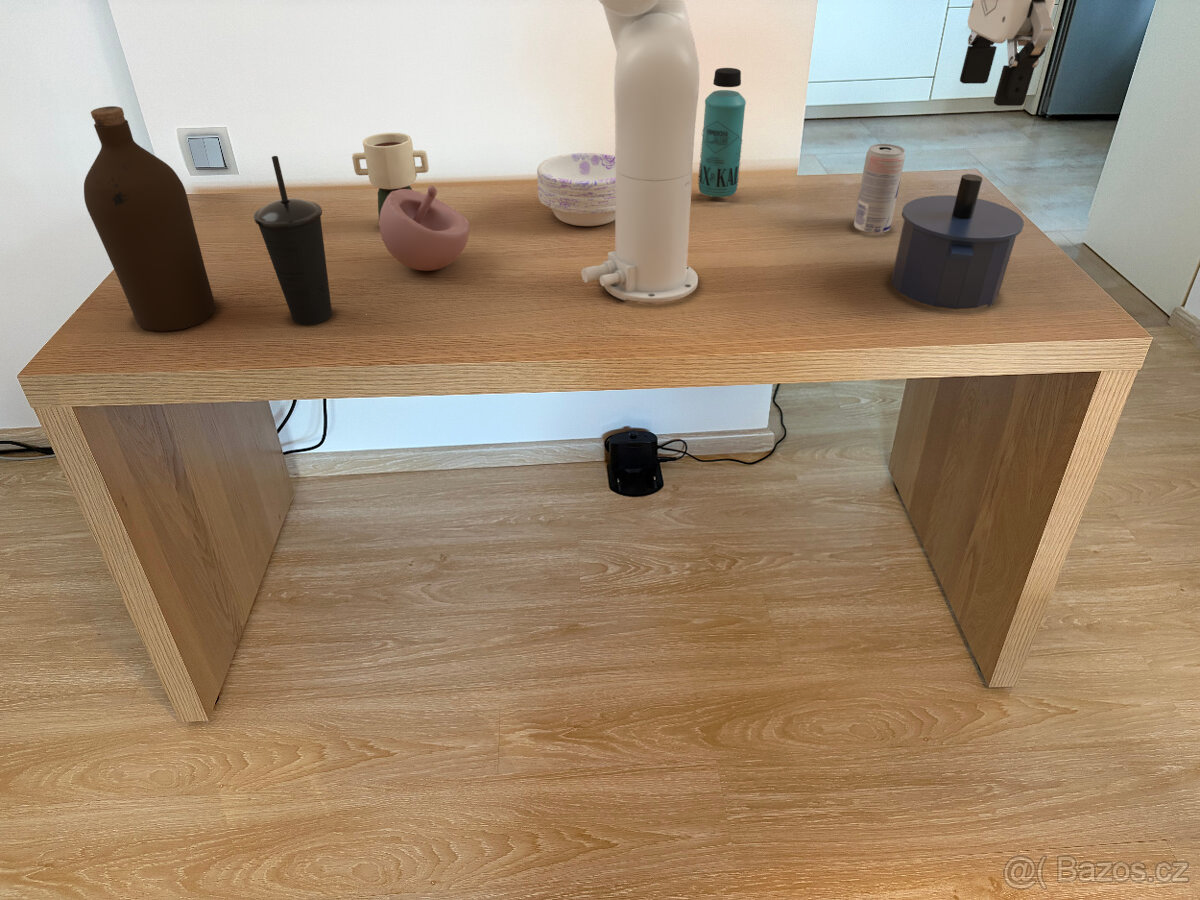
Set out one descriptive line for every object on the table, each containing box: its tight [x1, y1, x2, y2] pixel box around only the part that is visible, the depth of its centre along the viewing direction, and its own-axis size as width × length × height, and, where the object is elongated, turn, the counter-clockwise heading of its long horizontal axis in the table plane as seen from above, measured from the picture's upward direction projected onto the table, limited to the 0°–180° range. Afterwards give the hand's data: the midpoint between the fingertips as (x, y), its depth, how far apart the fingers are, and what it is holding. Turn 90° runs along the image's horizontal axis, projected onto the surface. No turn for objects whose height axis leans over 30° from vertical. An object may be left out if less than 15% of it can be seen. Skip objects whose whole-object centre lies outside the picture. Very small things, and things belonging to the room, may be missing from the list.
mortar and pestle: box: [378, 185, 470, 272], centre depth 115 cm, size 12×12×12 cm
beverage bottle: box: [697, 67, 747, 198], centre depth 132 cm, size 6×7×20 cm
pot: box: [891, 219, 1017, 310], centre depth 108 cm, size 13×19×10 cm
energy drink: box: [853, 143, 906, 234], centre depth 124 cm, size 5×5×12 cm
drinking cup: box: [253, 155, 333, 326], centre depth 100 cm, size 8×8×20 cm
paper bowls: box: [536, 152, 615, 227], centre depth 130 cm, size 15×15×8 cm
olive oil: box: [83, 105, 216, 332], centre depth 100 cm, size 11×11×25 cm
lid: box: [901, 173, 1025, 242], centre depth 104 cm, size 14×14×6 cm
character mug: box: [351, 132, 430, 219], centre depth 127 cm, size 11×7×13 cm, turn 96°
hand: (989, 93), depth 96 cm, fingers open, 9 cm apart
